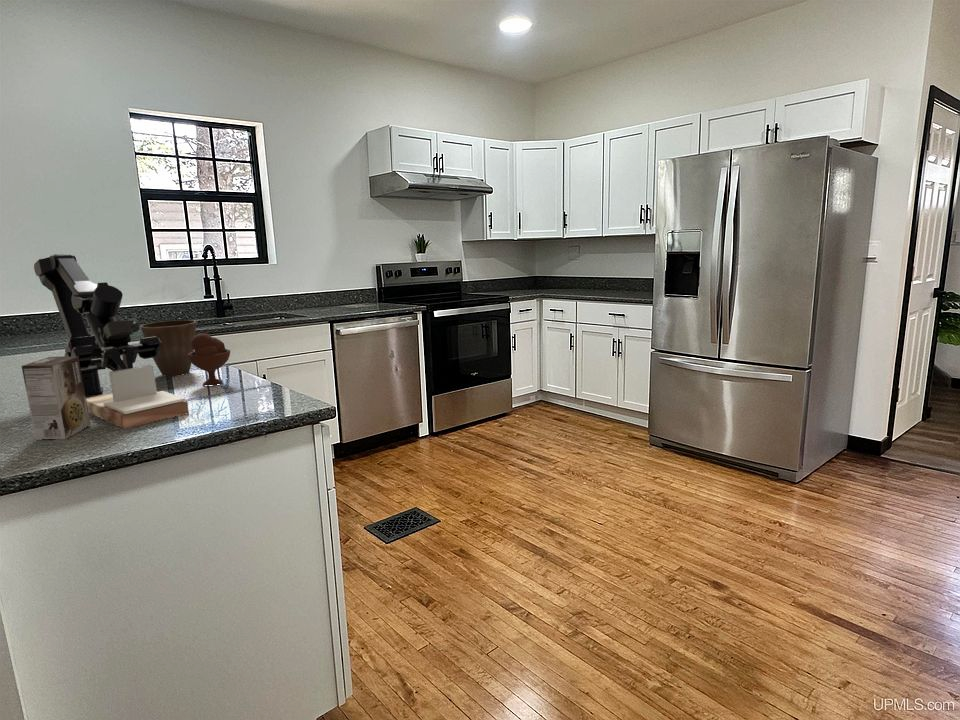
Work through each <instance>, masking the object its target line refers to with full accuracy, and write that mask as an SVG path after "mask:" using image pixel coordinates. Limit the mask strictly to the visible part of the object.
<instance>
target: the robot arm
mask: <svg viewBox="0 0 960 720" xmlns="http://www.w3.org/2000/svg"><path fill="white" fill-rule="evenodd" d="M33 268H34V269H33V270H34V273H35V276H36V277H38V278H39V281H40V283H41V285H42V286H44V287H45V288H46V289H48V290H49V291H50V292H51V293H52V296H53V299H54V301H55V305H56V307H57V310H58V312H59V316H60V319H61V321H62V323H63V327H64V331H65V333H66V336H67V339H68V340H67V344H66V346H65V349H64V356H67V357H76V356H78V358H79V363H80V368H81V374H82V379H83V385H84V390H85V396H92V395H97V394H103V393H104V386H101V380H100V375H99V370H100V371H101V370H106V369H109V370H110V371H111V372H112V371H118V370H124V369H130V368H134V364H135V363H136V360H137V357H139V358H140V359H144V360H146V359H147V360H149V359H153V358H154V357H156V356H158V353H159V350H160V348H161V345H162V342H161V341H160V339H159V338H158V337H156V336H154V337H146V338H144V337H140V340H139V342H138V343H135V344H134V343H133V344H129V343H131V340H132V338H131V335H133V333H138V331H139V330H140V328H141V326H140V324H139V321H138V319H136V317H130V318H127V319H124V320H117V319H116V317H115V316H118V315H119V312H120V307H121V303H122V299H123V295H124V294H123V292H122V291H121V290H120V289H119V288H117V287H116V286H113V285H109V284H108V282H97V283H94V282H92V281H91V280H90V279H89V277H88V275H86V273H85V272H84V270H83V269H82V268H81V266H80V264H79V263H78V260H77V258H76V256H75V254H71V253H60V254H58V253H57V254H56V253H55V254H53V255H49V257H44V258H39V259H38V260H37V261H36V262H35V263H34V264H33ZM82 314H86V316H85V320H86V322H87V326H86V324H85V321H84V319H83V315H82ZM87 328H88V329H90V331H91V332H92V334H93V335H92V334H90V333H89V331H88V329H87Z"/></svg>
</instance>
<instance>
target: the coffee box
mask: <svg viewBox="0 0 960 720" xmlns="http://www.w3.org/2000/svg"><path fill="white" fill-rule="evenodd" d="M20 366H21V371H22V375H23V381H24V386H25V391H26V396H27V400H28V401H27V402H28V407H29V411H30V417H31V422H32V428H33V432H34V437H35V440H36V441H43V440H42V439H56V440H67V439H68V438H70V436H71V437H72V436H74V435H76V434H78V433H80V432H81V431H83V430H84V428H85V429H87V428H88V427H90V426H91V425H92V424H91V418H90V413H88V407H87V402H86V398H87V395H85V390H84V385H83V379H82V374H81V368H80V363H79V358H78V356H76V357H67V356H65V355H63V356H62V355H61V356H47V357H46V358H42V359H39V360H35V361H32V362H29V363H27V364H24V365H20ZM89 425H90V426H89ZM87 426H88V427H87ZM86 427H87V428H86ZM82 429H83V430H82ZM77 432H78V433H77Z"/></svg>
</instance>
